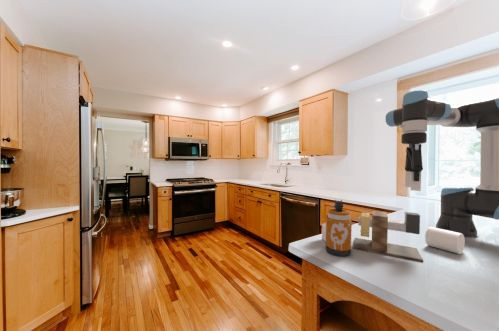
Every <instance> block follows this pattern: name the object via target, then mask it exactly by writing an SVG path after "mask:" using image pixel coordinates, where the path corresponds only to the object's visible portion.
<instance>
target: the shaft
mask: <svg viewBox="0 0 499 331" xmlns="http://www.w3.org/2000/svg"><path fill="white" fill-rule="evenodd" d="M357 224H358V226H360V227H361V216H358V223H357ZM420 224H421V215H420V214H419V213H417V212H410V211H409V212H408V211H405V212H404V221H397V220H389V219H388V231H389V230H390V231H395V232H403V233H406V234H407V233H408V234H415V235H420V233H421V232H420V231H421V228H420V227H421V226H420ZM369 228H372V217H370V225H369Z"/></svg>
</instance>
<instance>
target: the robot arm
mask: <svg viewBox="0 0 499 331" xmlns="http://www.w3.org/2000/svg"><path fill="white" fill-rule="evenodd" d="M401 107H402V108H397V109H393V110H390V111H388V112H387V113H386V114H385V123H386V125H387V126H389V127H390V128H392V127H399V128H401V133H402V134H401V138H400V139H401V144H403V145H408V146H407V147H406V150H405V153H406V155H405V165H404V171H405V179H404V180H405V181H404V183H405V184H404V185H405V186H404V188H410V191H415V192H416V191H417V192H418V191H419V192H421V191H422V190H421V188H422V187H421V186H422V171H423V169H424V168H423V158H422V157H423V156H422V155H423V154H422V144H426V143H427V138H428V137H427V133H426V132H427V131H428V126H435V125H436V126H438V125H440V126H442V127H444V128H445V127H446V128H449V127H451V128H472V127H473V128H474V127H475V129H476V131H478V132H479V133H480V179H479V180H480V181H479V182H480V184H478V185H477V186H475V188H474V187H472V186H471V187H468V186H467V187H443V188H442V189H441V192H440V216H439V217H438V220H437V222H436V224H435V228H439V229H444V230H448V231H453V232H458V233H462V234H463V235H464V238H465V237H466V238H476V237H478V230H477V228H476V224H475V222H474V220H473V216H477V217H483V218H488V219H494V220H496V221H498V220H499V96H496V97H491V98H486V99H482V100H477V101H472V102H467V103H464V104H460V105H456V106H452V105H451V104H450V103H449V102H448V101H447V102H446V101H444V100H438V99H437V100H436V99H431V98H429V93H428V91H427V90H425V89H424V90H423V89H422V90H419V89H418V90H412V91H409V92H407V93H405V94H404V95H403V96H402V103H401Z"/></svg>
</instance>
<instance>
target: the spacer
mask: <svg viewBox="0 0 499 331" xmlns="http://www.w3.org/2000/svg"><path fill="white" fill-rule="evenodd" d="M360 214H361V215H360V217H361V226H360V237H366V238H370V227H369V225H370V218H371V217H370V214H371V213H370V212H361V213H360Z"/></svg>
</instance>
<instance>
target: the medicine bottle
mask: <svg viewBox="0 0 499 331" xmlns="http://www.w3.org/2000/svg"><path fill="white" fill-rule="evenodd" d="M327 217H328V213H327V214H326V218H327ZM321 240H322V241H325V242H326V222H325V223H322V224H321Z"/></svg>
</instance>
